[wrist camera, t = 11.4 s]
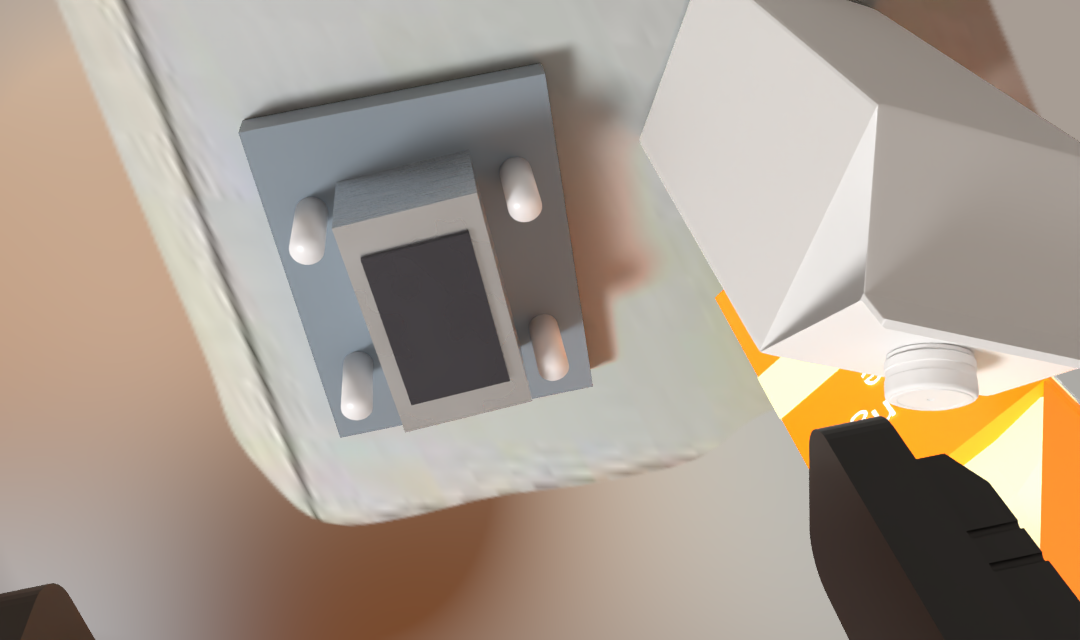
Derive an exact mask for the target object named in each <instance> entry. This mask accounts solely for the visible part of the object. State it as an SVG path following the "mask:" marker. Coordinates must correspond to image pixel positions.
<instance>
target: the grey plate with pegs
mask: <svg viewBox="0 0 1080 640" xmlns="http://www.w3.org/2000/svg"><path fill="white" fill-rule="evenodd" d="M239 136H240V139H241V142H242V145H243V148H244V151H245V154H246V157H247V160H248V163H249V166H250V169H251V172H252V175H253V178H254V181H255V183H256V186H257V189H258V192H259V195H260V198H261V201H262V204H263V207H264V210H265V213H266V216H267V219H268V222H269V225H270V228H271V231H272V234H273V237H274V240H275V243H276V246H277V249H278V252H279V255H280V258H281V261H282V264H283V267H284V270H285V273H286V276H287V279H288V282H289V285H290V288H291V291H292V294H293V297H294V300H295V303H296V306H297V309H298V312H299V315H300V318H301V321H302V324H303V327H304V330H305V333H306V336H307V339H308V342H309V345H310V348H311V351H312V354H313V357H314V360H315V363H316V366H317V369H318V372H319V375H320V378H321V381H322V384H323V387H324V390H325V393H326V396H327V399H328V402H329V405H330V408H331V411H332V414H333V417H334V420H335V423H336V426H337V429H338V432H339V435H340V438H341V437H346V436H351V435H356V434H361V433H366V432H371V431H376V430H380V429H385V428H390V427H395V426H400V425H402V422H401V419H400V416H399V414H398V411H397V408H396V405H395V402H394V400H393V397H392V394H391V391H390V389H389V386H388V383H387V380H386V378H385V375H384V372H383V369H382V367H381V364H380V361H379V358H378V355H377V353H376V350H375V347H374V344H373V342H372V339H371V336H370V333H369V331H368V328H367V325H366V322H365V319H364V317H363V314H362V311H361V308H360V306H359V303H358V300H357V297H356V295H355V292H354V289H353V286H352V284H351V281H350V278H349V275H348V272H347V270H346V267H345V264H344V261H343V259H342V256H341V253H340V250H339V248H338V245H337V242H336V239H335V237H334V234H333V231H332V220H333V209H334V198H335V188H336V182H338V181H342V180H346V179H351V178H355V177H359V176H363V175H367V174H371V173H375V172H379V171H383V170H387V169H391V168H395V167H399V166H403V165H407V164H411V163H415V162H419V161H423V160H427V159H431V158H435V157H439V156H443V155H447V154H451V153H456V152H460V151H464V150H468V149H469V152H470V156H471V160H472V164H473V168H474V171H475V175H476V179H477V183H478V186H479V190H480V194H481V198H482V202H483V205H484V209H485V213H486V217H487V221H488V224H489V228H490V232H491V236H492V239H493V243H494V247H495V251H496V255H497V258H498V262H499V266H500V270H501V273H502V277H503V281H504V285H505V289H506V292H507V296H508V300H509V304H510V308H511V311H512V315H513V319H514V323H515V326H516V330H517V334H518V338H519V342H520V345H521V350H522V355H523V359H524V364H525V369H526V374H527V378H528V383H529V388H530V393H531V397H532V399H533V398H538V397H543V396H548V395H553V394H558V393H563V392H568V391H573V390H578V389H583V388H588V387H593V384H592V377H591V371H590V364H589V358H588V351H587V345H586V338H585V331H584V325H583V318H582V312H581V305H580V299H579V292H578V286H577V279H576V273H575V266H574V260H573V253H572V246H571V240H570V233H569V227H568V220H567V214H566V207H565V201H564V194H563V188H562V181H561V174H560V168H559V161H558V155H557V148H556V142H555V135H554V129H553V122H552V116H551V109H550V102H549V96H548V89H547V83H546V76H545V72H544V70H543V67H542V65H541V63H539V64H533V65H528V66H523V67H518V68H513V69H507V70H502V71H497V72H492V73H487V74H481V75H476V76H471V77H466V78H461V79H455V80H450V81H445V82H440V83H435V84H429V85H424V86H419V87H414V88H409V89H404V90H398V91H393V92H388V93H383V94H378V95H372V96H367V97H362V98H357V99H352V100H346V101H341V102H336V103H331V104H326V105H320V106H315V107H310V108H305V109H300V110H294V111H289V112H284V113H279V114H274V115H268V116H263V117H258V118H253V119H248V120H243V121H242V124H241V127H240V130H239Z"/></svg>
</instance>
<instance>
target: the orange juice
mask: <svg viewBox="0 0 1080 640" xmlns="http://www.w3.org/2000/svg"><path fill="white" fill-rule="evenodd" d="M715 299H716V301H717V302H718V304H719V306H720V308H721V310H722V312H723V313H724V315H725V317H726V319H727V321H728V322H729V324H730V326H731V328H732V330H733V332H734V333H735V335H736V337H737V339H738V341H739V342H740V344H741V346H742V348H743V350H744V352H745V353H746V355H747V357H748V359H749V361H750V363H751V364H752V366H753V368H754V370H755V372H756V373H757V375H758V380H759V382H760V383H761V385H762V387H763V389H764V391H765V393H766V394H767V396H768V398H769V400H770V402H771V404H772V405H773V407H774V409H775V411H776V413H777V414H778V416H779V418H780V419H781V420H782V421H783V423H784V424H785V426H786V428H787V430H788V432H789V434H790V435H791V437H792V439H793V441H794V443H795V444H796V446H797V448H798V450H799V452H800V454H801V455H802V457H803V459H804V461H805V463H806V465H807V466H808V468H809V439H810V434H811V432H812V430H814V429H818V428H823V427H828V426H832V425H837V424H842V423H847V422H852V421H857V420H862V419H867V418H871V417H876V416H883V417H885V418H887V419H888V420H889V421H890V422H891V424H892V425H893V426H894V428H895V429H896V431H897V432H898V433H899V435H900V436H901V438H902V439H903V441H904V442H905V444H906V445H907V446H908V448H909V449H910V451H911V452H912V454H913V455H914V457H915V458H916V459H919V458H924V457H929V456H933V455H938V454H943V453H945V454H947V455H948V456H950V457H951V458H953V459H954V460H956V461H957V462H959V463H960V464H962V465H963V466H965V467H967V468H968V469H970V470H971V471H973V472H974V473H976V474H977V475H979V476H980V477H982V478H983V479H985V480H987V481H988V482H989V483H990V484H991V485H992V487H993V488H994V489H995V491H996V492H997V493H998V495H999V496H1000V497H1001V498H1002V500H1003V501H1004V502H1005V504H1006V505H1007V506H1008V508H1009V509H1010V510H1011V512H1012V513H1013V514H1014V516H1015V517H1016V518H1017V519H1018V524H1019V526H1020V528H1024V529H1025V530H1026V531H1027V533H1028V534H1029V535H1030V536H1031V538H1032V539H1033V540H1034V542H1035V543H1036V544H1037V546H1038V547H1039V548H1040V550H1041V551H1042V555H1043V558H1044V560H1045V561H1047V560H1049V561H1050V563H1051V564H1052V565H1053V567H1054V568H1055V569H1056V570H1057V572H1058V573H1059V574H1060V576H1061V577H1062V578H1063V580H1064V581H1065V582H1066V584H1067V585H1068V586H1069V588H1070V589H1071V590H1072V591H1073V593H1074V594H1075V595H1076V597H1077V598H1078V599H1079V601H1080V405H1079V404H1078V403H1077V400H1076V399H1075V398H1074V397H1072V396H1071V394H1070V393H1069V392H1068V391H1067V390H1066V389H1065V388H1064V387H1063V386H1062V385H1061V384H1060V383H1059V382H1058V381H1057V380H1056V379H1055V378H1054V377H1053V376H1052V377H1049V378H1045V379H1042V380H1039V381H1036V382H1033V383H1029V384H1026V385H1023V386H1020V387H1017V388H1013V389H1010V390H1007V391H1004V392H1000V393H997V394H994V395H989V396H982V395H979V396H978V398H977V399H976V401H974V402H973V403H971V404H968V405H966V406H962V407H959V408H955V409H949V410H940V411H921V410H912V409H906V408H902V407H898V406H895V405H892V404H890V403H888V402H887V401H886V400H885V396H884V381H885V377H881V376H876V375H870V374H865V373H860V372H855V371H850V370H845V369H839V368H834V367H829V366H824V365H818V364H813V363H807V362H802V361H798V360H793V359H788V358H783V357H778V356H773V355H769V354H765V353H762V352H760V351H759V349H758V348H757V346H756V345H755V343H754V342H753V340H752V338H751V336H750V335H749V333H748V331H747V330H746V328H745V326H744V324H743V323H742V321H741V319H740V317H739V316H738V314H737V312H736V310H735V309H734V307H733V305H732V303H731V302H730V300H729V298H728V296H727V295H726V293H725V291H724V290H723V291H722V292H721V293H720V294H719V295H718V296H716V297H715Z"/></svg>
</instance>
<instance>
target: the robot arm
mask: <svg viewBox="0 0 1080 640" xmlns="http://www.w3.org/2000/svg"><path fill="white" fill-rule="evenodd" d="M809 499H810V500H809V501H810V502H809V505H810V506H809V508H810V539H811V546H812V551H813V556H814V559H815V564H816V567H817V571H818V574H819V576H820V579H821V582H822V584H823V587H824V589H825V591H826V593H827V596H828V598H829V599H830V601H831V604H832V606H833V608H834V610H835V612H836V614H837V616H838V618H839V620H840V622H841V624H842V626H843V628H844V630H845V632H846V634H847V636H848V638H849V640H1080V601H1079V599H1078V598H1077V597H1076V595H1075V594H1074V593H1073V591H1072V590H1071V589H1070V588H1069V586H1068V585H1067V584H1066V582H1065V581H1064V580H1063V578H1062V577H1061V576H1060V574H1059V573H1058V572H1057V570H1056V569H1055V568H1054V567H1053V565H1052V564H1051V563H1050V561H1049V560H1047V561H1045V560H1044V558H1043V555H1042V551H1041V550H1040V548H1039V547H1038V546H1037V544H1036V543H1035V542H1034V540H1033V539H1032V538H1031V536H1030V535H1029V534H1028V533H1027V531H1026V530H1025V529H1024V528H1020V526H1019V524H1018V519H1017V518H1016V517H1015V516H1014V514H1013V513H1012V512H1011V510H1010V509H1009V508H1008V506H1007V505H1006V504H1005V502H1004V501H1003V500H1002V498H1001V497H1000V496H999V495H998V493H997V492H996V491H995V489H994V488H993V487H992V485H991V484H990V483H989V482H988V481H987V480H985V479H983V478H982V477H980V476H979V475H977V474H976V473H974V472H973V471H971V470H970V469H968V468H967V467H965V466H963V465H962V464H960V463H959V462H957V461H956V460H954V459H953V458H951V457H950V456H948V455H947V454H945V453H943V454H938V455H933V456H929V457H924V458H919V459H916V458H915V457H914V455H913V454H912V452H911V451H910V449H909V448H908V446H907V445H906V444H905V442H904V441H903V439H902V438H901V436H900V435H899V433H898V432H897V431H896V429H895V428H894V426H893V425H892V424H891V422H890V421H889V420H888V419H887V418H885V417H883V416H876V417H871V418H867V419H862V420H857V421H852V422H847V423H842V424H837V425H832V426H828V427H823V428H818V429H814V430H812V432H811V434H810V439H809ZM0 640H95V639H94V637H93V635H92V634H91V632H90V630H89V629H88V627H87V625H86V623H85V622H84V620H83V618H82V616H81V615H80V613H79V612H78V610H77V608H76V606H75V605H74V603H73V601H72V599H71V598H70V596H69V595H68V593H67V592H66V590H65V589H64V588H63V587H61V586H60V585H58V584H54V583H52V584H46V585H41V586H36V587H32V588H26V589H21V590H17V591H12V592H7V593H2V594H0Z"/></svg>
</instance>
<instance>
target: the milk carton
mask: <svg viewBox="0 0 1080 640" xmlns="http://www.w3.org/2000/svg"><path fill="white" fill-rule="evenodd" d="M639 142H640V144H641V146H642V147H643V149H644V151H645V153H646V155H647V156H648V158H649V160H650V162H651V163H652V165H653V167H654V169H655V170H656V172H657V174H658V176H659V177H660V179H661V181H662V183H663V184H664V186H665V188H666V190H667V191H668V193H669V195H670V197H671V198H672V200H673V202H674V204H675V205H676V207H677V209H678V211H679V212H680V214H681V216H682V218H683V219H684V221H685V223H686V225H687V226H688V228H689V230H690V232H691V233H692V235H693V237H694V239H695V240H696V242H697V244H698V246H699V247H700V249H701V251H702V253H703V254H704V256H705V258H706V260H707V261H708V263H709V265H710V267H711V268H712V270H713V272H714V274H715V275H716V277H717V279H718V281H719V282H720V284H721V286H722V288H723V289H724V291H725V293H726V295H727V296H728V298H729V300H730V302H731V303H732V305H733V307H734V309H735V310H736V312H737V314H738V316H739V317H740V319H741V321H742V323H743V324H744V326H745V328H746V330H747V331H748V333H749V335H750V336H751V338H752V340H753V342H754V343H755V345H756V346H757V348H758V349H759V351H760V352H762V353H765V354H769V355H773V356H778V357H783V358H788V359H793V360H798V361H802V362H807V363H813V364H818V365H824V366H829V367H834V368H839V369H845V370H850V371H855V372H860V373H865V374H870V375H876V376H881V377H885V381H884V396H885V400H886V401H887V402H888V403H890V404H892V405H895V406H898V407H902V408H906V409H912V410H921V411H940V410H949V409H955V408H959V407H962V406H966V405H968V404H971V403H973V402H974V401H976V399H977V398H978V396H979V395H982V396H989V395H994V394H997V393H1000V392H1004V391H1007V390H1010V389H1013V388H1017V387H1020V386H1023V385H1026V384H1029V383H1033V382H1036V381H1039V380H1042V379H1045V378H1049V377H1052V376H1055V375H1058V374H1061V373H1065V372H1068V371H1071V370H1074V369H1077V368H1078V369H1080V142H1079V141H1077V140H1076V139H1074V138H1073V137H1071V136H1069V135H1068V134H1067V133H1065V132H1063V131H1062V130H1060V129H1059V128H1057V127H1056V126H1054V125H1053V124H1051V123H1050V122H1048V121H1047V120H1045V119H1044V118H1042V117H1041V116H1039V115H1037V114H1036V113H1034V112H1033V111H1031V110H1030V109H1028V108H1027V107H1025V106H1024V105H1022V104H1021V103H1019V102H1017V101H1016V100H1014V99H1013V98H1011V97H1010V96H1008V95H1007V94H1005V93H1004V92H1002V91H1000V90H999V89H997V88H996V87H994V86H993V85H991V84H990V83H988V82H987V81H985V80H983V79H982V78H980V77H979V76H977V75H976V74H974V73H973V72H971V71H970V70H968V69H967V68H965V67H963V66H962V65H960V64H959V63H957V62H956V61H954V60H953V59H951V58H950V57H948V56H946V55H945V54H943V53H942V52H940V51H939V50H937V49H936V48H934V47H933V46H931V45H930V44H928V43H926V42H925V41H923V40H922V39H920V38H919V37H917V36H916V35H914V34H913V33H911V32H909V31H908V30H906V29H905V28H903V27H902V26H900V25H899V24H897V23H896V22H894V21H893V20H891V19H889V18H888V17H886V16H885V15H883V14H882V13H880V12H878V11H877V10H875V9H873V8H870V7H867V6H864V5H861V4H858V3H854V2H851V1H848V0H690V3H689V5H688V8H687V11H686V14H685V16H684V19H683V22H682V25H681V27H680V30H679V33H678V35H677V38H676V41H675V44H674V46H673V49H672V52H671V55H670V57H669V60H668V63H667V65H666V68H665V71H664V74H663V76H662V79H661V82H660V84H659V87H658V90H657V93H656V95H655V98H654V101H653V104H652V106H651V109H650V112H649V114H648V117H647V120H646V123H645V125H644V128H643V131H642V134H641V136H640V139H639Z"/></svg>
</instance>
